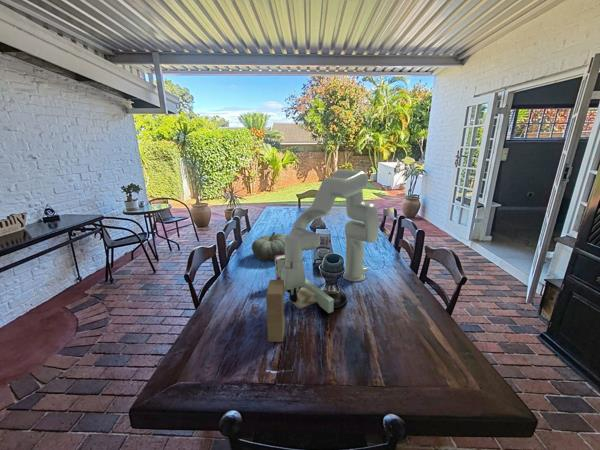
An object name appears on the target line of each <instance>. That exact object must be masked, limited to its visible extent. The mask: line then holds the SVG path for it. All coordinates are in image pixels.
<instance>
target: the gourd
mask: <svg viewBox="0 0 600 450" xmlns="http://www.w3.org/2000/svg"><path fill="white" fill-rule="evenodd" d="M286 235H287V234H285V233H284V234H283V233H280V232H279V233H276V232H275V231H273V232H272V234H271V235H264V236H260V237H258V238H257V239H255V240H254V241H253V242H252V243H251V250H252V252H253V253H252V254H253V255H254V257H256V259H259V260H260V261H262V262H267V261H272V262H275V256H279V255H285V237H286Z"/></svg>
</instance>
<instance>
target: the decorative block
mask: <svg viewBox="0 0 600 450" xmlns="http://www.w3.org/2000/svg"><path fill="white" fill-rule="evenodd" d="M284 297H285V292H284V280H276V279H270V280H269V283H268V286H267V290H266V294H265V299H266V300H265V302H266V304H265V305H266V325H267V342H269V343H283V341H284V336H285V335H284V334H285V328H286V327H285V325H286V320H285V319H286V315H285V314H284Z"/></svg>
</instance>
